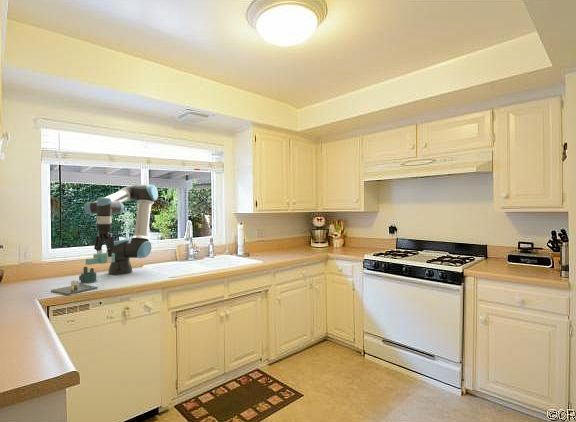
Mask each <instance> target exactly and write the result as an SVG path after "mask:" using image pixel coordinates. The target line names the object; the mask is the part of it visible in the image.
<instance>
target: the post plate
mask: <svg viewBox="0 0 576 422" xmlns="http://www.w3.org/2000/svg"><path fill="white" fill-rule="evenodd" d="M97 289H98V286H95V285H89V284H86V283H79V280H71V281H70V285H69V286H64V287H59V288H53V289H50V292H51V293H55V294H60V295H63V296H70V295H75V294H79V293H83V292H89V291H92V290H97Z"/></svg>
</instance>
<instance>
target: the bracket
mask: <svg viewBox="0 0 576 422" xmlns="http://www.w3.org/2000/svg"><path fill="white" fill-rule="evenodd" d="M78 278H79V279H78V281H80V284H91V283H96V282H97V272H96V271H95V269H94V268H93V267H91V268H89V272H88V267H87V266H84V267H83V272H82V273H80V275H79V276H78Z"/></svg>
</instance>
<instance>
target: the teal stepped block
mask: <svg viewBox="0 0 576 422" xmlns="http://www.w3.org/2000/svg"><path fill="white" fill-rule="evenodd" d="M92 256H93V257H90V258H86V259H85V265H87V266H91V265H97V264H101V265H103V264H107V263H106V252H102V253H101V254H97V253H94V254H93V255H92ZM112 262H115V254H114V253H112ZM108 264H111V262H109V263H108Z"/></svg>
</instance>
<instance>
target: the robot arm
mask: <svg viewBox="0 0 576 422" xmlns="http://www.w3.org/2000/svg"><path fill="white" fill-rule="evenodd" d="M158 198H159V193H158V189H157V187H156V186H155V185H154V184H133V185H132V184H131V185H128V186H125V187H122V188H121V189H119V190H118V191H117V192H115V193H111V194H109V195H107V196H105V197H98V198H97V200H95V201H88V202H85V204H84V206H83V208H84V212H85V213H86V214H91V215H96V223H97V224H96V230H97V231H98V232H96V233H95V234H94V236H95V238H94V247H93V249H94V250H96V254H101V253H103V249H102V248H103V244H104V243H105V247H106V252H105V253H106V263H105V264H109V268H108V270H107V271H108V274H109V275H122V274H123V275H125V274H130V273H133V267H132V264H131V261H130V259H133V258H134V259H137V258H138V259H143V258H144V259H146V258H147V257H148V256H149V255H150V254H151V251H152V248H153V246H152V242H151V241H150V239H149V238H148V232H149V224H150V219H151V217H150V216H151V210H152V209H151V208H152V206H153V205H154V203H155V201H157V200H158ZM129 201H136V203H137V204H138V206H137V214H136V219H135V220H136V221H135V227H134V231H133V232H134V233H133V236H132V237H131V239H129V238H128V239H127V238H126V239H122V240H114V233H111V231H112V222H113V221H112V214H116V215H118V214H119V215H120V214H122V213H123V212H124V211H125V204H124V202H129ZM112 253H114V254H115V262H112ZM109 262H111V263H109Z"/></svg>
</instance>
